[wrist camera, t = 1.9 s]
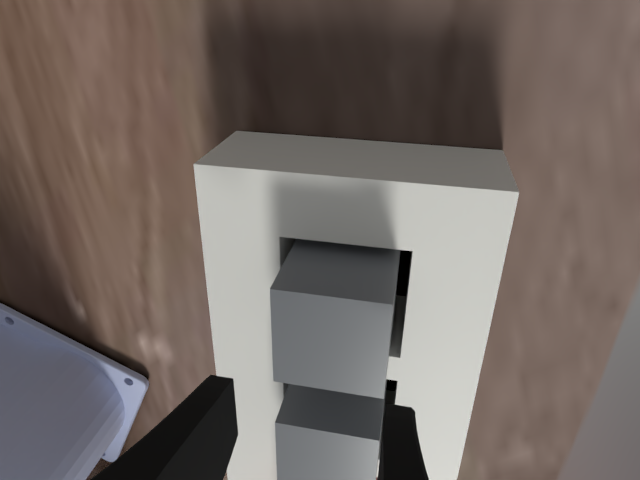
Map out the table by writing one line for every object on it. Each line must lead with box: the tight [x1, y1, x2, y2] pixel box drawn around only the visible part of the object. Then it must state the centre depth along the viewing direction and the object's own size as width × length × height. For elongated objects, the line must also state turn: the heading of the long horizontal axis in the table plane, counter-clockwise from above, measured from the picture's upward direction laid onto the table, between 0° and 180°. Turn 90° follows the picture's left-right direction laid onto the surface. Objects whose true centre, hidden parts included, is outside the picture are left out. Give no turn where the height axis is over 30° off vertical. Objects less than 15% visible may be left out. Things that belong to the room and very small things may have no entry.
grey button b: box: [275, 379, 387, 480], centre depth 20 cm, size 4×4×4 cm
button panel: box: [194, 131, 519, 480], centre depth 22 cm, size 20×10×4 cm, turn 179°
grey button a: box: [270, 239, 401, 399], centre depth 17 cm, size 4×4×4 cm
